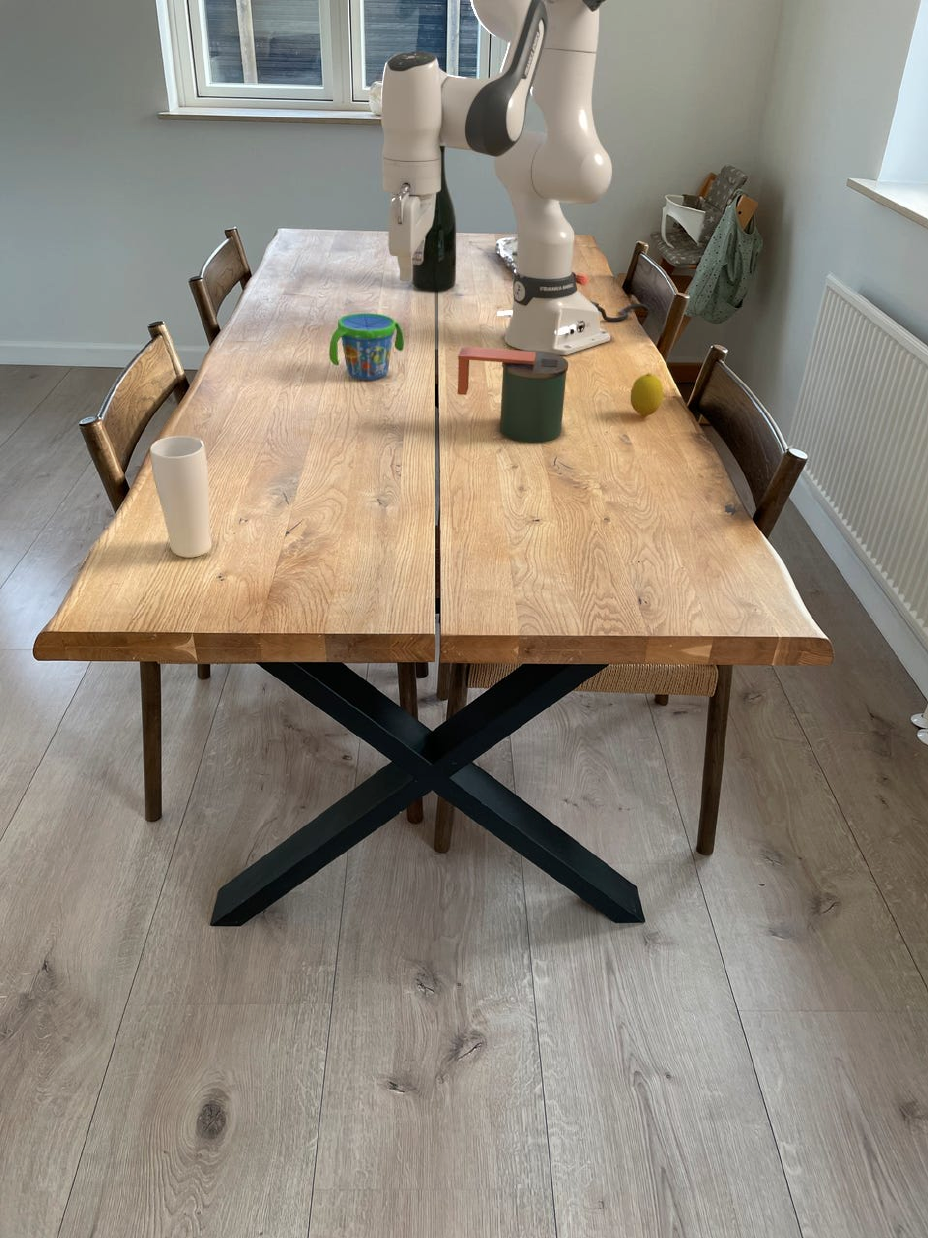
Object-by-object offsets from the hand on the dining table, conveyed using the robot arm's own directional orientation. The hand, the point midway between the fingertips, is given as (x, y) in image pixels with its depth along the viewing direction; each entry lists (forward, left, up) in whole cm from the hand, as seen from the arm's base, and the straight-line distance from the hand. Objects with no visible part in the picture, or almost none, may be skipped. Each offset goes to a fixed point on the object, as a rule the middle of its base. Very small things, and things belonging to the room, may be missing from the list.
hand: (411, 271), depth 157 cm
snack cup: (-3, -23, -25) cm, 34 cm away
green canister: (-15, +13, -25) cm, 32 cm away
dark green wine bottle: (-44, -67, -25) cm, 84 cm away
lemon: (-36, +18, -25) cm, 48 cm away
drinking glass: (+48, +23, -25) cm, 59 cm away
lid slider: (-11, +9, -19) cm, 24 cm away
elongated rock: (-74, -73, -25) cm, 107 cm away
